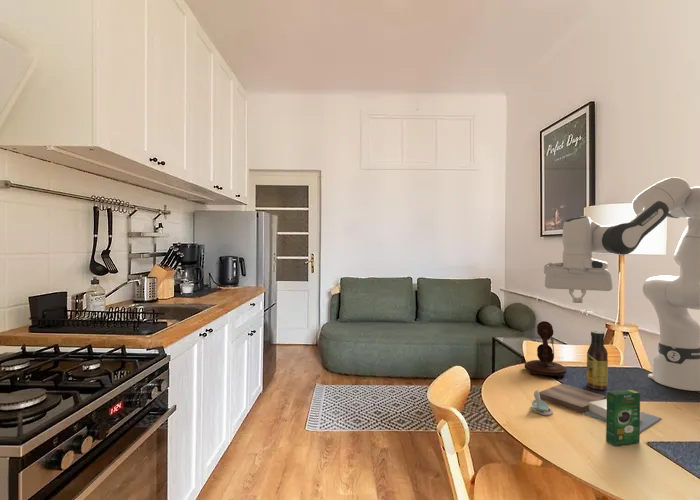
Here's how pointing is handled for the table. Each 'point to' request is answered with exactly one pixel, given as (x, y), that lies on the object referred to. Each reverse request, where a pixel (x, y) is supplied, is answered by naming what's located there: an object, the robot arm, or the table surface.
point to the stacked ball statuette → (545, 354)
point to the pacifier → (540, 405)
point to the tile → (602, 408)
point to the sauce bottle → (597, 362)
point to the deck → (570, 397)
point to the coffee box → (623, 417)
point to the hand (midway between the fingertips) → (577, 302)
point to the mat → (644, 424)
